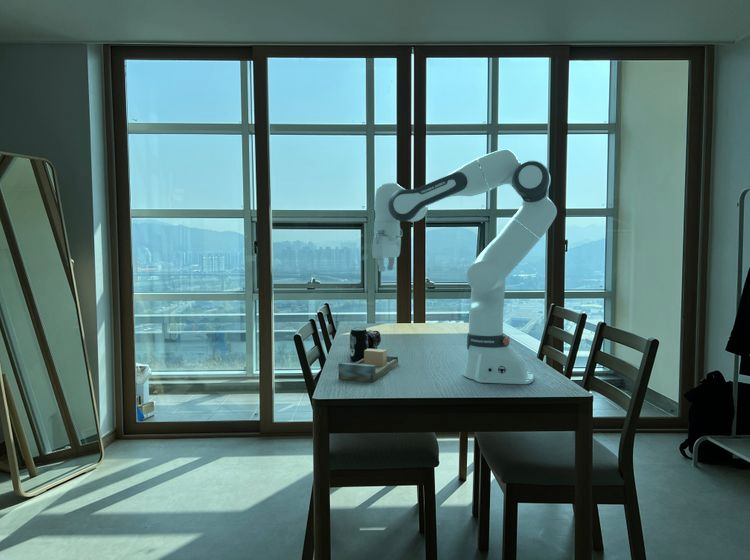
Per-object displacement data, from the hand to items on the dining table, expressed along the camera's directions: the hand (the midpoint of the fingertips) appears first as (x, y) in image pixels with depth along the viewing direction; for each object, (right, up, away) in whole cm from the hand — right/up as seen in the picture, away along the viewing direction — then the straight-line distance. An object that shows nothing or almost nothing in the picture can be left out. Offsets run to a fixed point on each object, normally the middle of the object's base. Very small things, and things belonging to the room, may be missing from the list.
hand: (386, 270), depth 180 cm
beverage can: (-10, -34, +15) cm, 38 cm away
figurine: (-8, -33, +27) cm, 43 cm away
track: (-6, -35, -2) cm, 35 cm away
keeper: (-4, -33, +3) cm, 33 cm away
